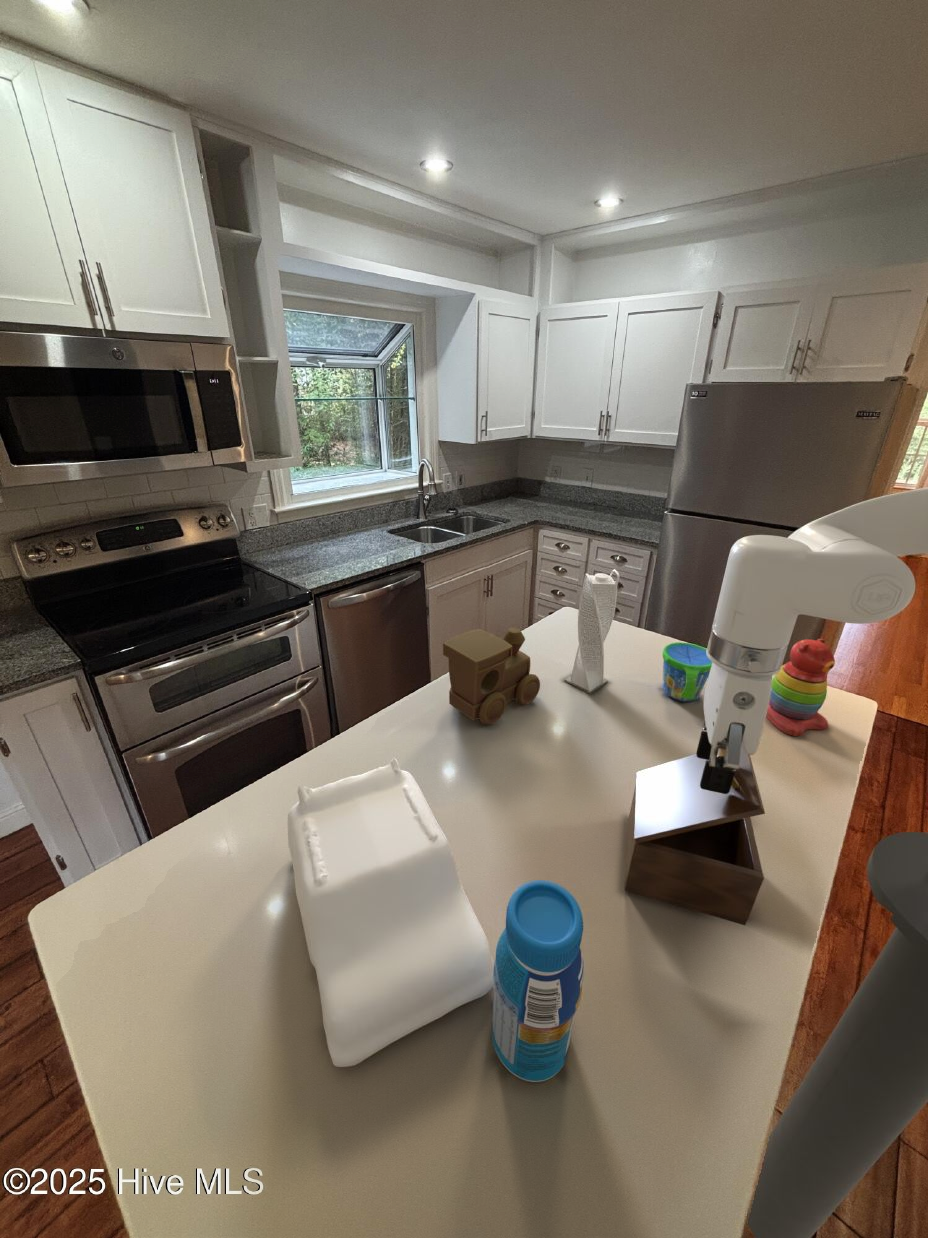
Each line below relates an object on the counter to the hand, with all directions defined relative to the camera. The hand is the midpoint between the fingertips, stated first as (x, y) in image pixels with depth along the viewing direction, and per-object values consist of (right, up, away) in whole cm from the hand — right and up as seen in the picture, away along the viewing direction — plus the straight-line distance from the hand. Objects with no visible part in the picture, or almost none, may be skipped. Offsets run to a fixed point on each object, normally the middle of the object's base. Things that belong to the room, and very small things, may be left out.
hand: (711, 772), depth 63 cm
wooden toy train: (-25, +1, +43) cm, 50 cm away
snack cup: (+17, +3, +47) cm, 50 cm away
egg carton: (-42, -19, +1) cm, 46 cm away
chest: (-1, -16, +8) cm, 18 cm away
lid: (-1, -3, +2) cm, 4 cm away
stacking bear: (+36, -1, +40) cm, 53 cm away
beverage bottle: (-25, -25, -11) cm, 36 cm away
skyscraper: (-3, +5, +51) cm, 51 cm away
